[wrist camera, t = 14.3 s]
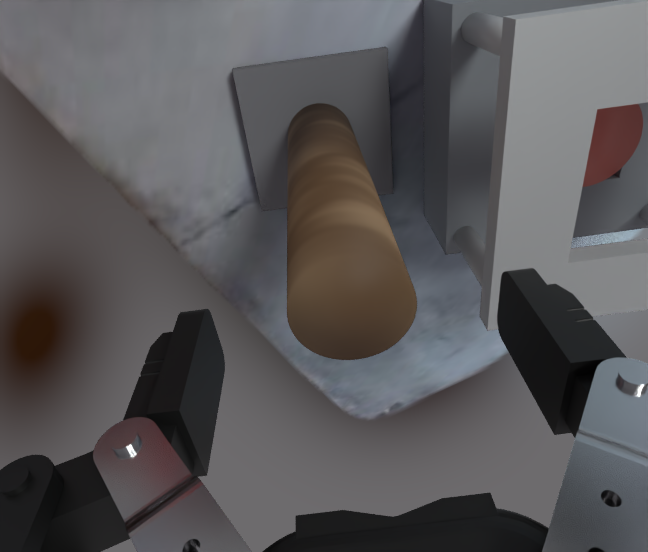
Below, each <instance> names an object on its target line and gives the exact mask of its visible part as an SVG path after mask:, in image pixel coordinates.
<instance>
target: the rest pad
mask: <svg viewBox="0 0 648 552" xmlns="http://www.w3.org/2000/svg"><path fill="white" fill-rule="evenodd" d="M232 71H233V76H234V81H235V86H236V91H237V95H238V100H239V105H240V110H241V115H242V119H243V124H244V129H245V134H246V139H247V143H248V148H249V153H250V158H251V162H252V167H253V172H254V177H255V182H256V186H257V191H258V196H259V201H260V206H261V210H262V211H268V210H275V209H283V208H287V198H288V129H289V126H290V123H291V121H292V119H293V117H294V116H295V115H296V114H297V113H298V112H299V111H300V110H301V109H303V108H304V107H306V106H308V105H311V104H316V103H325V104H330V105H332V106H335V107H337V108H338V109H340V110H341V111H342V112H343V113H344V114H345V115H346V117H347V118H348V120H349V122H350V124H351V127H352V129H353V132H354V134H355V137H356V140H357V142H358V145H359V147H360V150H361V153H362V155H363V158H364V160H365V163H366V166H367V168H368V171H369V173H370V176H371V178H372V181H373V184H374V186H375V189H376V191H377V194H378V196H379V195H386V194H393V173H392V148H391V123H390V98H389V74H388V49H387V48H386V47H381V48H374V49H367V50H360V51H353V52H345V53H338V54H331V55H324V56H317V57H309V58H302V59H295V60H288V61H281V62H273V63H266V64H259V65H252V66H245V67H237V68H233V70H232Z"/></svg>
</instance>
